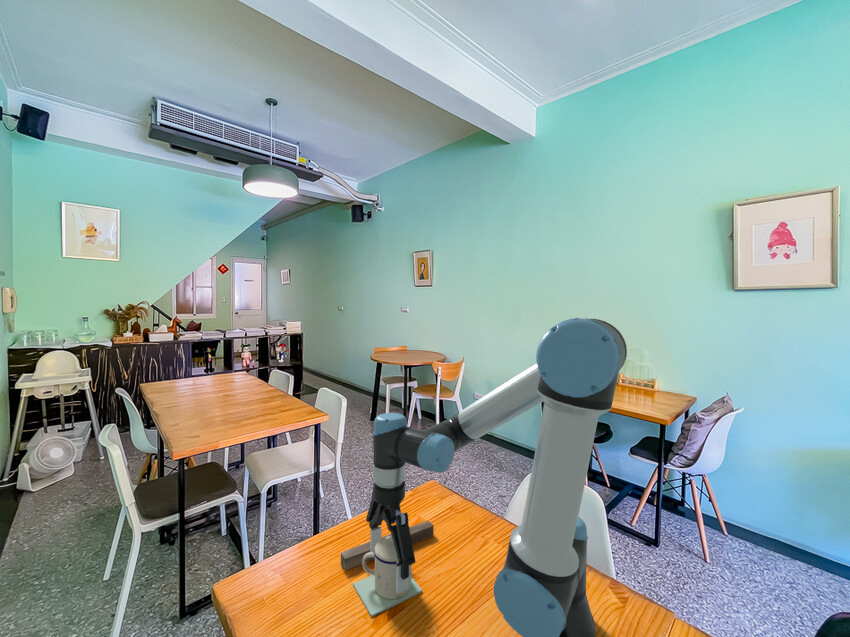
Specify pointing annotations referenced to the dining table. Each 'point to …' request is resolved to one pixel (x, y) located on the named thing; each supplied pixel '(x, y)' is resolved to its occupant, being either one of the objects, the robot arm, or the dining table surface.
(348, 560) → the grey long bar
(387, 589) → the teacup with lid
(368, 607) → the mat
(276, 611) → the dining table surface
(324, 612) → the dining table surface
